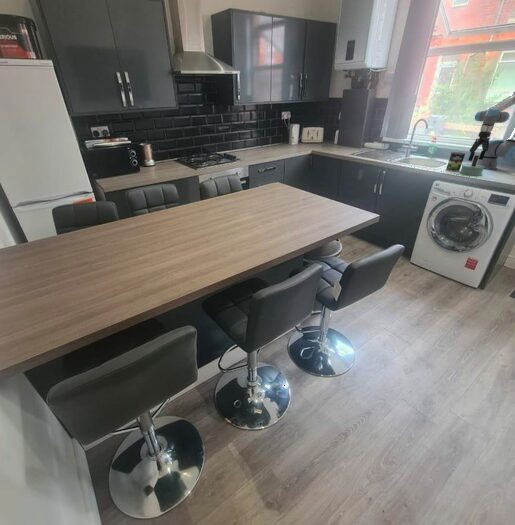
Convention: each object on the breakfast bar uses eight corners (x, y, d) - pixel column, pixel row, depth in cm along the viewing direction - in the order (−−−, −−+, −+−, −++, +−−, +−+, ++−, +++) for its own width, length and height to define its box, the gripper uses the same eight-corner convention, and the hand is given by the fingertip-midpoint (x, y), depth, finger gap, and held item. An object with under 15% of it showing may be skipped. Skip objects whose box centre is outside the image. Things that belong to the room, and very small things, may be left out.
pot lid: (467, 164, 248) (471, 153, 243) (488, 167, 236) (492, 155, 232) (458, 166, 240) (462, 154, 236) (478, 170, 229) (483, 157, 224)
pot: (465, 171, 250) (468, 163, 247) (484, 174, 239) (487, 166, 236) (456, 173, 243) (459, 165, 240) (475, 176, 232) (478, 169, 229)
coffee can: (460, 172, 247) (465, 154, 240) (446, 170, 251) (451, 153, 244) (459, 169, 255) (464, 152, 247) (445, 168, 259) (450, 151, 252)
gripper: (480, 132, 217) (470, 162, 228) (500, 131, 227) (489, 159, 237) (470, 131, 223) (460, 160, 234) (490, 130, 233) (480, 158, 243)
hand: (475, 160), depth 236 cm, fingers open, 13 cm apart
